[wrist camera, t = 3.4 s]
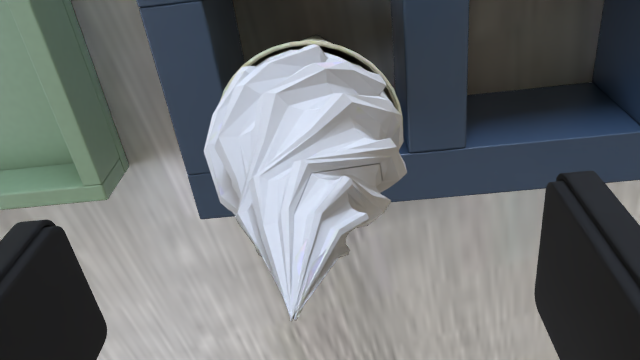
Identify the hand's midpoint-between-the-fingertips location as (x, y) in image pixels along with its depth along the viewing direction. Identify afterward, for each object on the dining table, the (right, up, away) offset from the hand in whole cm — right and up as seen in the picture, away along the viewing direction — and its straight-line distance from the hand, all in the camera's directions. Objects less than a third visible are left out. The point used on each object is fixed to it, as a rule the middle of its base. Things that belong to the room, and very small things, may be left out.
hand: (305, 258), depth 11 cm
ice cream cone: (0, +7, +11) cm, 13 cm away
